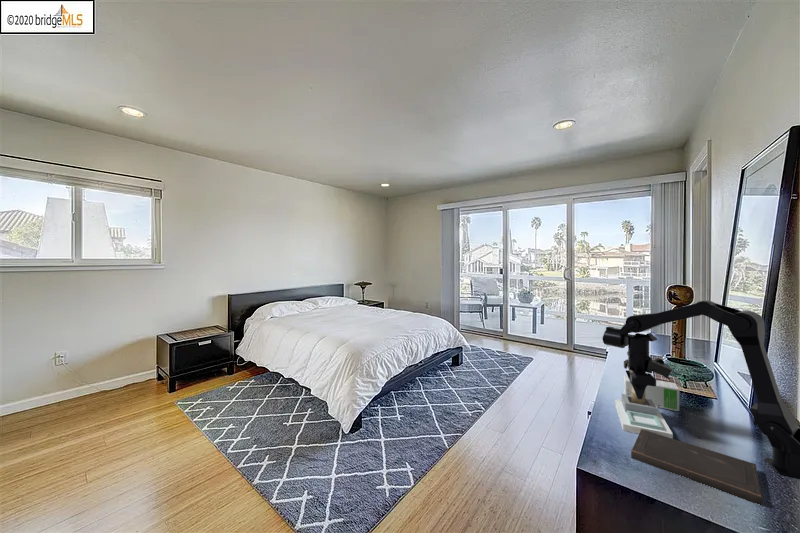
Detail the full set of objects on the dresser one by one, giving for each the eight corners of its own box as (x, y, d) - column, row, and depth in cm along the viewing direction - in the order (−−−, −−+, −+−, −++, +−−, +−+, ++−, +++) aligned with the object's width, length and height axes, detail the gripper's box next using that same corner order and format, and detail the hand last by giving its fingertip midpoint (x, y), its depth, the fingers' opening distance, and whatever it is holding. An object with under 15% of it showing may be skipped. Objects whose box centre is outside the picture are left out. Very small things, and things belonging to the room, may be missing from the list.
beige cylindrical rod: (646, 409, 104) (646, 380, 103) (632, 407, 105) (632, 378, 105) (644, 405, 107) (644, 376, 107) (630, 403, 109) (630, 374, 109)
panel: (672, 440, 91) (672, 424, 91) (623, 430, 97) (623, 414, 97) (656, 411, 109) (656, 397, 108) (614, 404, 114) (614, 391, 114)
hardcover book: (641, 436, 94) (641, 429, 94) (755, 473, 78) (755, 464, 78) (630, 460, 83) (630, 451, 83) (761, 508, 67) (761, 498, 67)
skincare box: (680, 411, 108) (625, 402, 116) (675, 404, 114) (623, 396, 122) (679, 388, 108) (624, 380, 116) (675, 381, 114) (623, 375, 122)
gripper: (677, 362, 94) (677, 413, 94) (661, 347, 110) (661, 391, 110) (632, 357, 99) (632, 405, 99) (623, 343, 116) (623, 385, 116)
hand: (638, 396), depth 106 cm, fingers closed on beige cylindrical rod, 4 cm apart
